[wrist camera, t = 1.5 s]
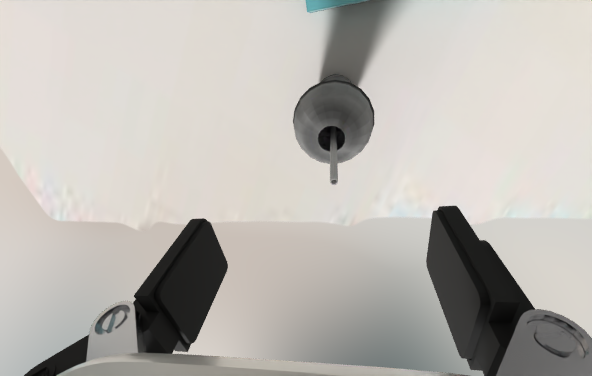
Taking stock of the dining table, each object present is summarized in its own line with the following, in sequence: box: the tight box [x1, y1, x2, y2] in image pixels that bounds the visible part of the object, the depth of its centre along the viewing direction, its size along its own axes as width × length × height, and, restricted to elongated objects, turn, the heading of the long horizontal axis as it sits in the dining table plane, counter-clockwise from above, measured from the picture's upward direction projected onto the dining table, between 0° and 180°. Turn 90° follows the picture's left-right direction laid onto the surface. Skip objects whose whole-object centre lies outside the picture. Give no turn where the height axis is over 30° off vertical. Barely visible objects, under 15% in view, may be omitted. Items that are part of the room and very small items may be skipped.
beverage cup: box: [293, 75, 374, 185], centre depth 25 cm, size 7×7×20 cm
